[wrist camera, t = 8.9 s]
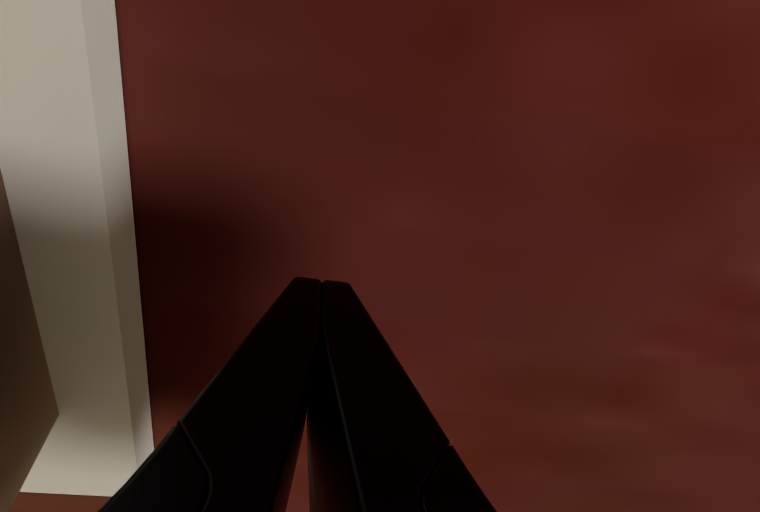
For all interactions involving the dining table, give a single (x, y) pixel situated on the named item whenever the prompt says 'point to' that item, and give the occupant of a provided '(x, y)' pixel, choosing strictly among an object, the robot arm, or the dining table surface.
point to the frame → (19, 369)
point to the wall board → (76, 236)
